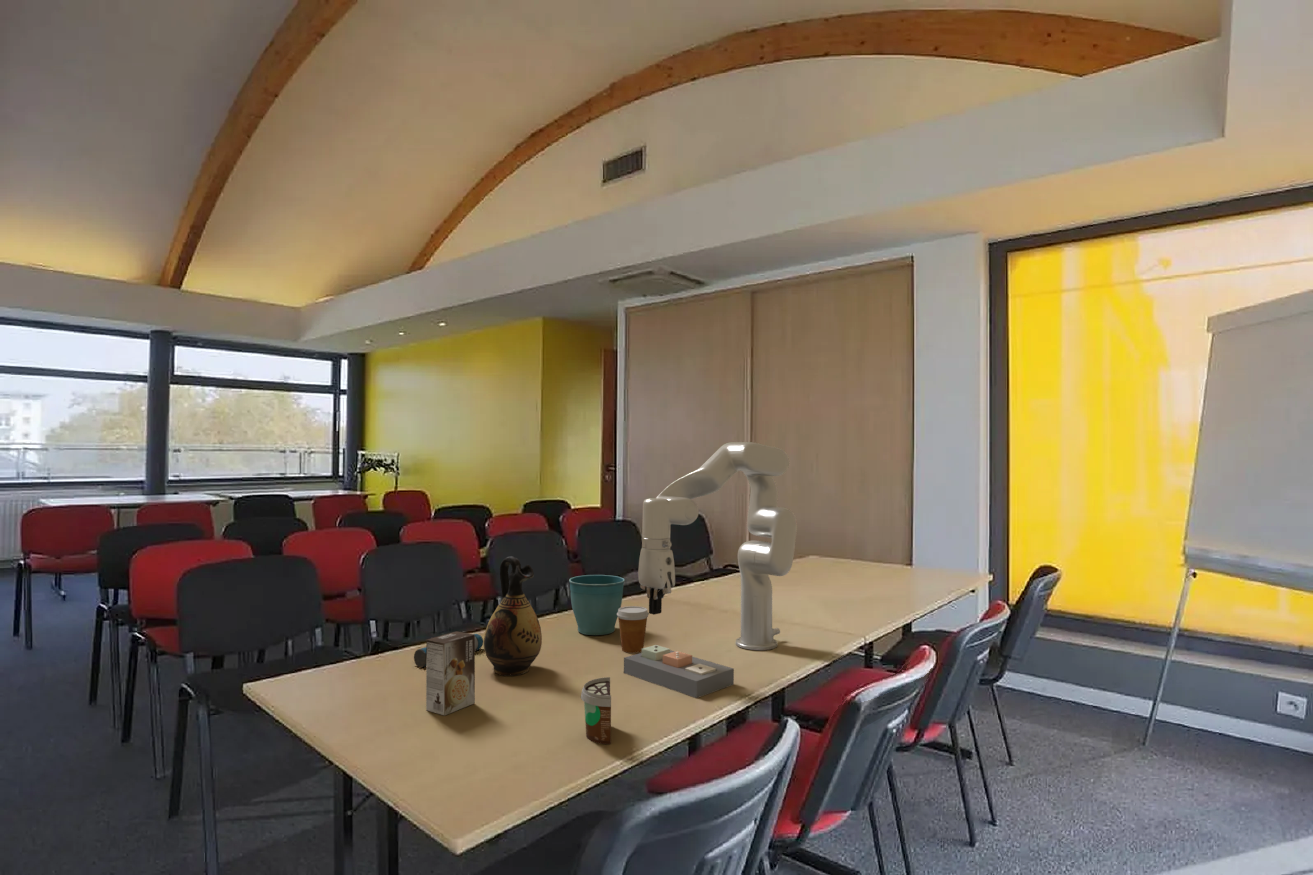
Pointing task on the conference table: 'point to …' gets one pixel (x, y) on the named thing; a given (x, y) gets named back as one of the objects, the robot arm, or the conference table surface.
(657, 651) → the button two dots
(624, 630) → the disposable coffee cup
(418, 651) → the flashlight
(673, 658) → the button three dots
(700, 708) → the conference table surface
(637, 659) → the console
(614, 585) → the flower pot
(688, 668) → the button one dot
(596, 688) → the food container
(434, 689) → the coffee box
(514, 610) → the ceramic jug
